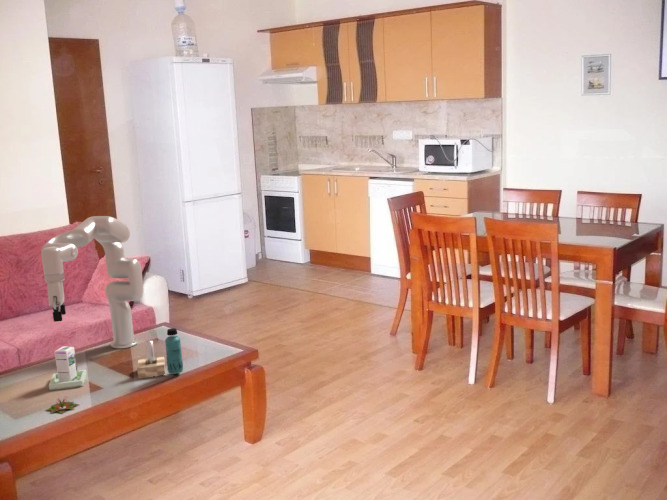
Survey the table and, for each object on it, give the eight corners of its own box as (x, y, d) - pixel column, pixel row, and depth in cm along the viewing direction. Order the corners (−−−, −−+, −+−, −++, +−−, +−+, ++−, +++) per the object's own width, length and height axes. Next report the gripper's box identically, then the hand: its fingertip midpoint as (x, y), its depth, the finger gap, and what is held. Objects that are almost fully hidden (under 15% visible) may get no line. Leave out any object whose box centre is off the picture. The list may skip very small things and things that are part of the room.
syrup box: (71, 384, 287) (66, 350, 284) (58, 383, 288) (53, 350, 285) (78, 378, 292) (74, 346, 289) (66, 378, 294) (61, 345, 291)
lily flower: (38, 413, 263) (37, 401, 262) (63, 400, 273) (61, 389, 272) (62, 417, 258) (60, 406, 257) (86, 405, 268) (84, 393, 267)
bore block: (139, 369, 302) (138, 359, 301) (165, 366, 304) (164, 356, 303) (138, 378, 291) (137, 368, 290) (165, 375, 293) (164, 365, 293)
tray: (54, 379, 295) (53, 373, 295) (86, 375, 298) (85, 369, 297) (49, 390, 283) (48, 384, 282) (82, 386, 286) (82, 380, 285)
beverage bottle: (164, 375, 294) (160, 329, 290) (178, 370, 299) (173, 325, 295) (173, 378, 289) (169, 332, 285) (187, 373, 294) (182, 328, 290)
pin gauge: (148, 371, 299) (145, 340, 296) (155, 370, 300) (152, 339, 297) (147, 374, 296) (144, 342, 293) (155, 373, 296) (152, 341, 294)
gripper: (48, 273, 289) (53, 313, 292) (40, 283, 272) (46, 324, 276) (67, 271, 290) (72, 311, 294) (61, 281, 274) (66, 322, 277)
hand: (59, 317), depth 285 cm, fingers open, 9 cm apart
